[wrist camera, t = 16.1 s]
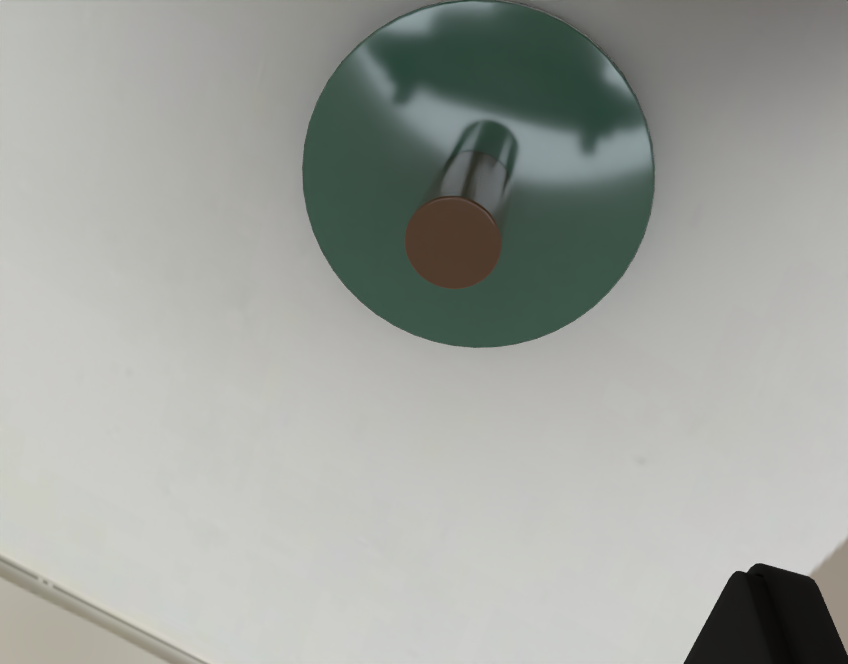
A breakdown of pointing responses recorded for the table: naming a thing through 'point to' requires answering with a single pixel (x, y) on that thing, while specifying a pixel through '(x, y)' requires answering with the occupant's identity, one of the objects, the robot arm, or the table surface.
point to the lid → (478, 173)
